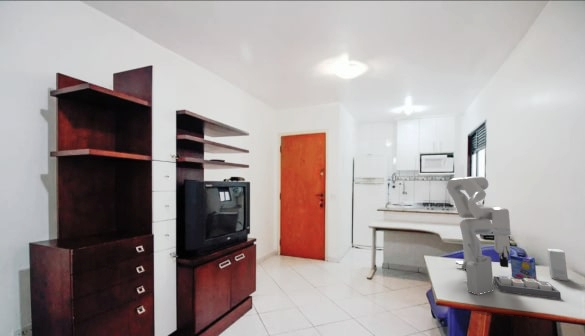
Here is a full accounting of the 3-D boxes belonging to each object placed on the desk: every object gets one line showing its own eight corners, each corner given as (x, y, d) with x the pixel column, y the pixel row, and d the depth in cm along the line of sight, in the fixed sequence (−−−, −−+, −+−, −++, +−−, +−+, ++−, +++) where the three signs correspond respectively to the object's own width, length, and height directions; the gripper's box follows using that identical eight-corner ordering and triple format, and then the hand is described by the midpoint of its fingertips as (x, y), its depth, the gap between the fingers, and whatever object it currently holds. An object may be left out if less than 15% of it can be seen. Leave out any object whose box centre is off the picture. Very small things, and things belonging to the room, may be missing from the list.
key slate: (501, 284, 137) (500, 277, 137) (499, 281, 141) (498, 274, 141) (511, 285, 135) (511, 279, 135) (508, 282, 139) (508, 276, 139)
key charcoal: (540, 291, 130) (540, 284, 130) (537, 287, 134) (536, 281, 134) (552, 292, 128) (551, 285, 128) (548, 288, 132) (547, 282, 132)
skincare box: (568, 281, 143) (565, 252, 144) (551, 279, 147) (549, 250, 148) (564, 276, 150) (562, 249, 151) (548, 274, 154) (546, 247, 155)
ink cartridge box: (511, 276, 153) (509, 251, 154) (515, 274, 155) (513, 249, 156) (532, 281, 144) (530, 254, 145) (537, 279, 147) (534, 253, 148)
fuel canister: (474, 296, 128) (471, 244, 129) (464, 292, 132) (461, 242, 134) (494, 291, 134) (490, 241, 135) (483, 287, 138) (480, 239, 140)
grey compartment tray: (500, 291, 133) (499, 285, 133) (493, 281, 146) (493, 276, 146) (560, 298, 123) (560, 292, 123) (548, 287, 135) (547, 282, 135)
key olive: (527, 287, 132) (526, 280, 132) (523, 283, 136) (523, 277, 136) (538, 288, 130) (537, 281, 130) (534, 285, 134) (533, 278, 135)
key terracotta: (514, 287, 134) (513, 281, 134) (511, 284, 138) (510, 278, 139) (524, 289, 132) (524, 282, 133) (521, 285, 137) (521, 279, 137)
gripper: (489, 228, 148) (492, 261, 147) (496, 233, 134) (499, 270, 133) (506, 229, 144) (509, 263, 143) (514, 234, 131) (517, 271, 130)
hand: (504, 266), depth 138 cm, fingers closed
